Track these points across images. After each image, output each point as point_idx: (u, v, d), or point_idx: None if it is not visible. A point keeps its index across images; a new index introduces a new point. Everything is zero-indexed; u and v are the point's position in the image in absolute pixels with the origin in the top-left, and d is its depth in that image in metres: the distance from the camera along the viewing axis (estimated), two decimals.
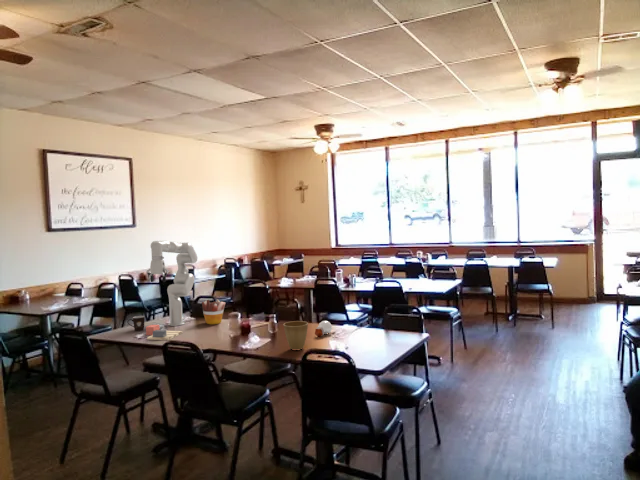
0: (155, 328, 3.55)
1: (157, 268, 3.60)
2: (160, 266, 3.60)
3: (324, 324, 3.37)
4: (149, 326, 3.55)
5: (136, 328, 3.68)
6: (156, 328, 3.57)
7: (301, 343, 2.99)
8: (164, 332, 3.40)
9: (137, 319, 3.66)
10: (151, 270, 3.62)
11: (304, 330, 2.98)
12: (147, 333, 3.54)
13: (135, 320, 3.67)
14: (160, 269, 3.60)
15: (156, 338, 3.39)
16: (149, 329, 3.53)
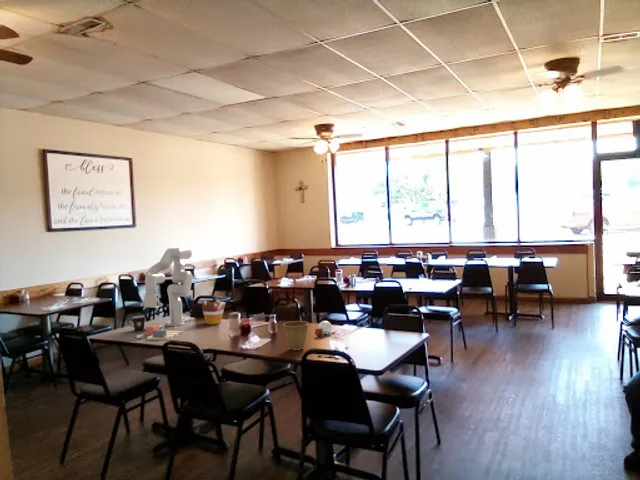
0: (155, 328, 3.55)
1: (151, 302, 3.53)
2: (154, 300, 3.53)
3: (324, 324, 3.37)
4: (149, 326, 3.55)
5: (136, 328, 3.68)
6: (156, 328, 3.57)
7: (301, 343, 2.99)
8: (164, 332, 3.40)
9: (137, 319, 3.66)
10: (145, 303, 3.55)
11: (304, 330, 2.98)
12: (147, 333, 3.54)
13: (135, 320, 3.67)
14: (154, 303, 3.53)
15: (156, 338, 3.39)
16: (149, 329, 3.53)
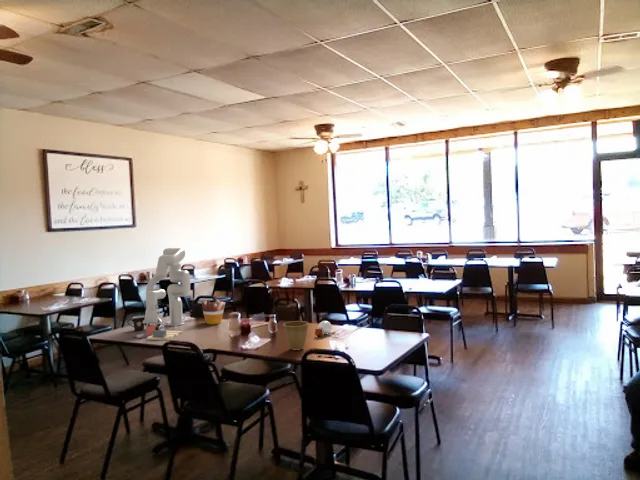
0: (155, 328, 3.55)
1: (152, 318, 3.54)
2: (155, 316, 3.54)
3: (324, 324, 3.37)
4: (149, 326, 3.55)
5: (136, 328, 3.68)
6: None
7: (301, 343, 2.99)
8: (164, 332, 3.40)
9: (137, 319, 3.66)
10: (146, 320, 3.55)
11: (304, 330, 2.98)
12: (147, 333, 3.54)
13: (135, 320, 3.67)
14: (155, 319, 3.54)
15: (156, 338, 3.39)
16: (149, 328, 3.53)
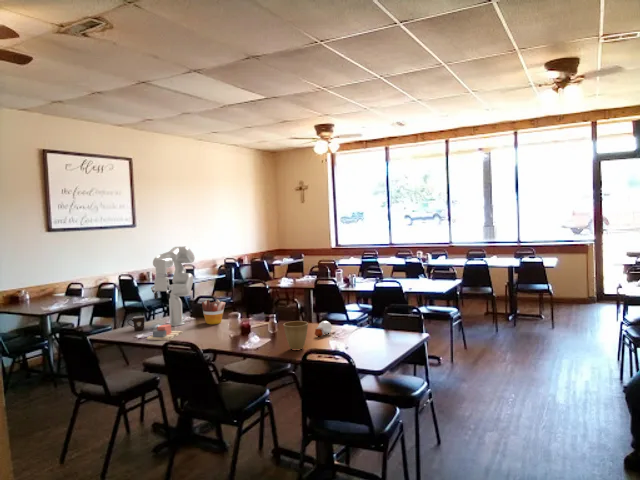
0: (167, 328, 3.46)
1: (162, 286, 3.58)
2: (164, 283, 3.58)
3: (324, 324, 3.37)
4: (161, 326, 3.46)
5: (136, 328, 3.68)
6: (168, 328, 3.47)
7: (301, 343, 2.99)
8: (164, 332, 3.40)
9: (137, 319, 3.66)
10: (155, 287, 3.59)
11: (304, 330, 2.98)
12: None
13: (135, 320, 3.67)
14: (164, 286, 3.58)
15: (156, 338, 3.39)
16: (161, 329, 3.44)
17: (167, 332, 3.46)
